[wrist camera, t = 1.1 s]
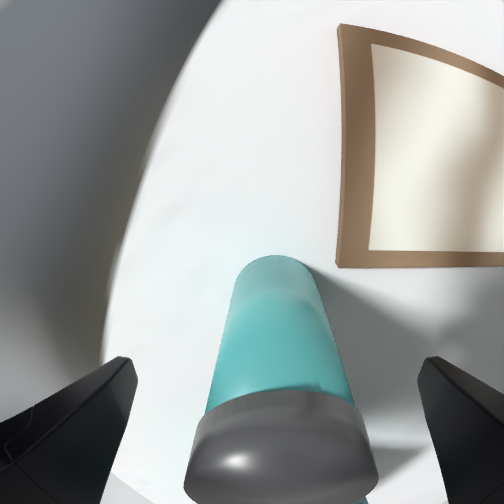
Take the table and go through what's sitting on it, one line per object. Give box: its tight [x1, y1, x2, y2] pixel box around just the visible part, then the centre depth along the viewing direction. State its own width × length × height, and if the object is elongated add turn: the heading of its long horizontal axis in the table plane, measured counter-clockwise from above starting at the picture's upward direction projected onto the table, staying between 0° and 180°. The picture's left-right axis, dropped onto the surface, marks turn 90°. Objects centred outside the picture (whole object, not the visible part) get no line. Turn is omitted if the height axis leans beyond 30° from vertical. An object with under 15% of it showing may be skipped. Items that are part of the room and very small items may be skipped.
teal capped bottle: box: [184, 255, 378, 504], centre depth 8 cm, size 4×4×9 cm
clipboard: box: [335, 23, 504, 268], centre depth 9 cm, size 15×10×1 cm, turn 90°
